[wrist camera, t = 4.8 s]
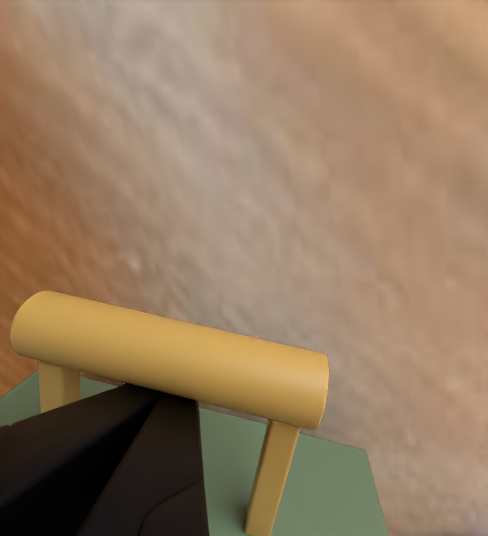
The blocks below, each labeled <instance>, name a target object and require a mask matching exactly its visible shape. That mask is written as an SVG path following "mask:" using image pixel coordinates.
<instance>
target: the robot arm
mask: <svg viewBox="0 0 488 536" xmlns="http://www.w3.org/2000/svg"><path fill="white" fill-rule="evenodd" d="M0 536H210V533H209V524H208V515H207V506H206V494H205V483H204V471H203V457H202V442H201V428H200V413H199V401H196V400H193V399H189V398H185V397H181V396H177V395H173V394H169V393H165V392H161V391H157V390H154V389H150V388H146V387H142V386H138V385H134V384H130V383H127V384H124V385H121V386H118V387H116V388H113V389H110V390H107V391H104V392H101V393H98V394H95V395H93V396H90V397H87V398H84V399H81V400H78V401H75V402H72V403H69V404H67V405H64V406H61V407H58V408H55V409H52V410H49V411H46V412H43V413H41V414H38V415H35V416H32V417H29V418H26V419H23V420H20V421H17V422H15V423H13V424H12V425H11V427H10V425H4V426H1V427H0Z"/></svg>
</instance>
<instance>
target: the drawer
mask: <svg viewBox="0 0 488 536" xmlns="http://www.w3.org/2000/svg"><path fill="white" fill-rule="evenodd" d="M9 335H10V344H11V346H12V348H13V350H14V351H15V352H16V353H17V354H19V355H21V356H25V357H29V358H32V359H36V360H39V362H38V369H39V370H37V371H36V372H35V373H33V374H32V375H31V376H29V377H28V378H27V379H25V380H24V381H23V382H21V383H20V384H19V385H17V386H16V387H15V388H13V389H12V390H11V391H10V392H8V393H7V394H6V395H4V396H3V397H2V398H0V427H1V426H4V425H10V427H11V425H12V424H13V423H15V422H17V421H20V420H23V419H26V418H29V417H32V416H35V415H38V414H41V413H43V412H46V411H49V410H52V409H55V408H58V407H61V406H64V405H67V404H69V403H72V402H75V401H78V400H81V399H84V398H87V397H90V396H93V395H95V394H98V393H101V392H104V391H107V390H110V389H113V388H116V387H118V386H116V385H112V384H108V383H104V382H100V381H96V380H92V379H89V378H85V377H81V376H80V371H83V372H87V373H91V374H95V375H99V376H103V377H107V378H111V379H114V380H118V381H122V382H126V383H130V384H134V385H138V386H142V387H146V388H150V389H154V390H157V391H161V392H165V393H169V394H173V395H177V396H181V397H185V398H189V399H193V400H196V401H200V402H204V403H208V404H212V405H216V406H220V407H224V408H228V409H232V410H236V411H239V412H243V413H247V414H251V415H255V416H259V417H263V418H267V419H268V423H267V424H263V423H259V422H255V421H251V420H247V419H244V418H240V417H236V416H232V415H228V414H224V413H220V412H216V411H213V410H209V409H205V408H201V407H199V413H200V428H201V442H202V457H203V471H204V483H205V494H206V506H207V515H208V524H209V533H210V536H389V535H388V531H387V528H386V524H385V520H384V516H383V512H382V509H381V505H380V501H379V497H378V493H377V490H376V486H375V482H374V478H373V474H372V471H371V467H370V463H369V459H368V455H367V452H366V450H364V449H360V448H356V447H352V446H348V445H344V444H340V443H337V442H333V441H329V440H325V439H321V438H317V437H313V436H309V435H306V434H302V433H300V429H301V427H302V428H306V429H310V430H316V429H317V428H318V426H319V424H320V422H321V419H322V416H323V413H324V409H325V404H326V399H327V392H328V382H329V366H328V360H327V357H326V355H325V354H323V353H319V352H315V351H310V350H306V349H302V348H297V347H293V346H289V345H284V344H280V343H275V342H271V341H267V340H262V339H258V338H254V337H249V336H245V335H241V334H236V333H232V332H228V331H223V330H219V329H215V328H210V327H206V326H202V325H197V324H193V323H188V322H184V321H180V320H175V319H171V318H167V317H162V316H158V315H154V314H149V313H145V312H141V311H136V310H132V309H128V308H123V307H119V306H115V305H110V304H106V303H101V302H97V301H93V300H88V299H84V298H80V297H75V296H71V295H67V294H62V293H58V292H54V291H41V292H38V293H36V294H34V295H32V296H31V297H29V298H28V299H27V300H26V301H25V302H24V303H23V304H22V305H21V307H20V308H19V309H18V311H17V312H16V314H15V316H14V318H13V321H12V324H11V328H10V334H9Z"/></svg>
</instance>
